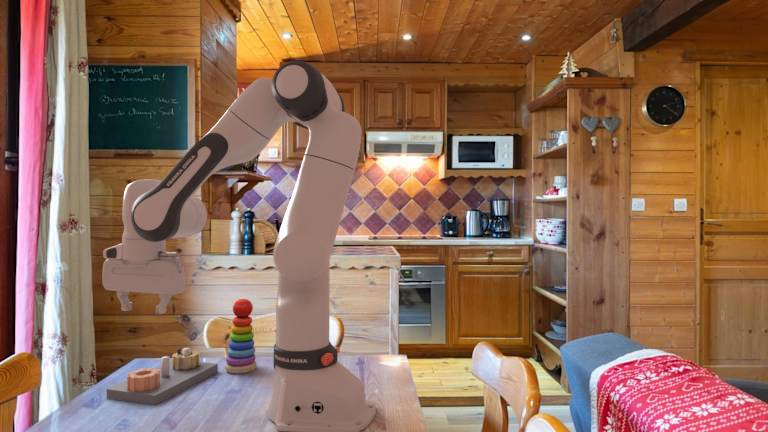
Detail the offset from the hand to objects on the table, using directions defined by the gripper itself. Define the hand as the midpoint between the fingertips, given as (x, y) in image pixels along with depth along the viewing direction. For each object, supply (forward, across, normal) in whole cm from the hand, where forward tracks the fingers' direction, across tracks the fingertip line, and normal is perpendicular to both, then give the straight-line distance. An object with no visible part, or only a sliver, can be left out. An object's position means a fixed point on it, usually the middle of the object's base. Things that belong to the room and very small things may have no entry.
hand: (143, 311), depth 105 cm
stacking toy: (+19, -12, -21) cm, 31 cm away
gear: (+17, 0, -14) cm, 22 cm away
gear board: (+19, 0, -7) cm, 20 cm away
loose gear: (+17, 0, 0) cm, 17 cm away
